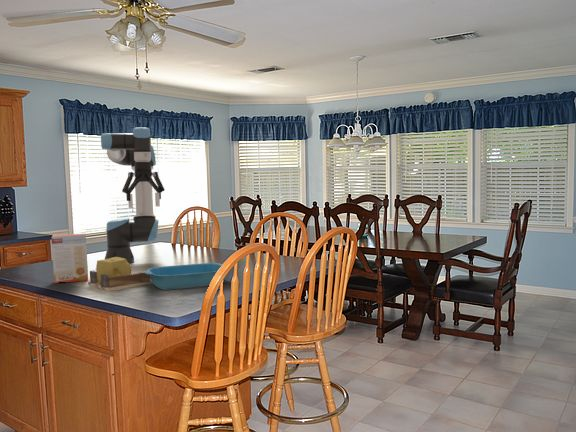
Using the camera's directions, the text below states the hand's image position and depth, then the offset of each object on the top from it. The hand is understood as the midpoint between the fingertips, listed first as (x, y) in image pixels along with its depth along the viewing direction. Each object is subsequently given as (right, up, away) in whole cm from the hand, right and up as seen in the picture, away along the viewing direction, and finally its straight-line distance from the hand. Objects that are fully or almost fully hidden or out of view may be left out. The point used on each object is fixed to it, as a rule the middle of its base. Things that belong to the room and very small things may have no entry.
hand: (144, 207), depth 241 cm
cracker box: (-30, -33, -10) cm, 46 cm away
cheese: (-8, -33, -18) cm, 38 cm away
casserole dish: (+24, -34, -18) cm, 45 cm away
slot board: (-3, -33, -14) cm, 36 cm away
